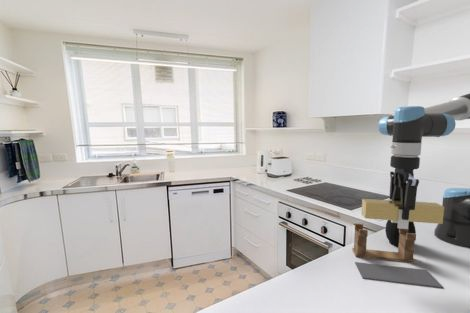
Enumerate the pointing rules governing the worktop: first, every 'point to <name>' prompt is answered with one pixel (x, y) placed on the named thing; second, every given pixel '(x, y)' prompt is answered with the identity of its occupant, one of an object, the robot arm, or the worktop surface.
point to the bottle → (396, 232)
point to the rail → (390, 211)
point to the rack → (402, 255)
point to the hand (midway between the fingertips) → (399, 225)
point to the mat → (397, 274)
